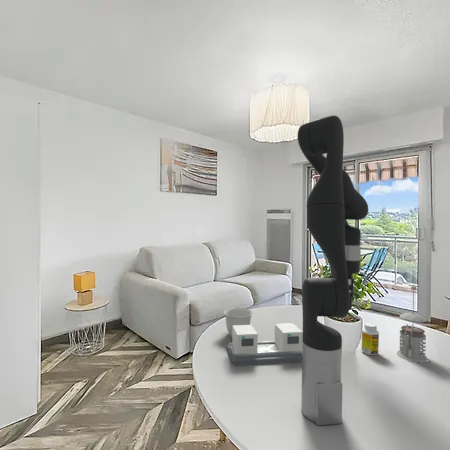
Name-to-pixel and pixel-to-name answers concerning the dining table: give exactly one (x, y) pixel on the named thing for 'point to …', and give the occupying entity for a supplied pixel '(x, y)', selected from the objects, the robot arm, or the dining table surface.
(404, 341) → the french press
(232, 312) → the teacup
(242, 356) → the steel rail
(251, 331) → the mounted modules
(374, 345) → the supplement bottle
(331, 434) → the dining table surface
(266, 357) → the rail board
